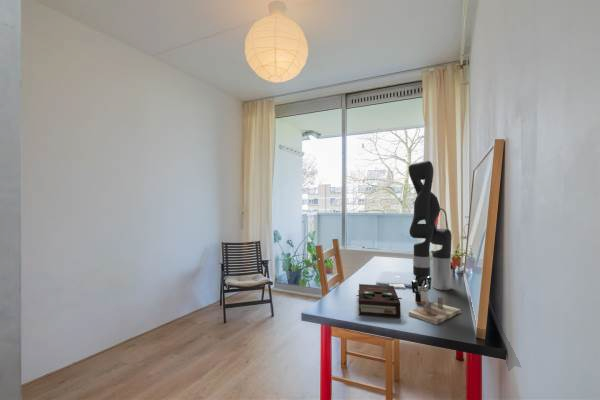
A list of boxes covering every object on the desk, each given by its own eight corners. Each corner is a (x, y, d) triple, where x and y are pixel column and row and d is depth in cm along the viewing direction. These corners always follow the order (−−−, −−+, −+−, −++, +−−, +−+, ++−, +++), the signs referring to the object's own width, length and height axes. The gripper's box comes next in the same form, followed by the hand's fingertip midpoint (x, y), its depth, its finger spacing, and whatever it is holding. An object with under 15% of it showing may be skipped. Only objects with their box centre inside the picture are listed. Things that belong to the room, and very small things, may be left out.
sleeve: (419, 299, 142) (419, 287, 142) (430, 302, 137) (430, 290, 137) (413, 302, 138) (413, 289, 138) (424, 305, 134) (424, 292, 134)
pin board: (433, 304, 134) (432, 292, 134) (459, 312, 125) (459, 298, 125) (408, 315, 122) (408, 301, 122) (436, 324, 113) (436, 309, 113)
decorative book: (395, 283, 146) (404, 303, 117) (395, 298, 146) (404, 321, 116) (356, 281, 150) (356, 299, 120) (356, 295, 150) (356, 318, 120)
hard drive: (388, 280, 173) (390, 286, 161) (402, 281, 171) (405, 287, 159) (388, 283, 173) (390, 289, 161) (402, 284, 171) (405, 290, 159)
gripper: (422, 262, 145) (422, 295, 145) (406, 265, 137) (406, 301, 136) (436, 264, 139) (437, 299, 139) (420, 268, 131) (421, 306, 130)
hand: (421, 300), depth 138 cm, fingers closed on sleeve, 5 cm apart
